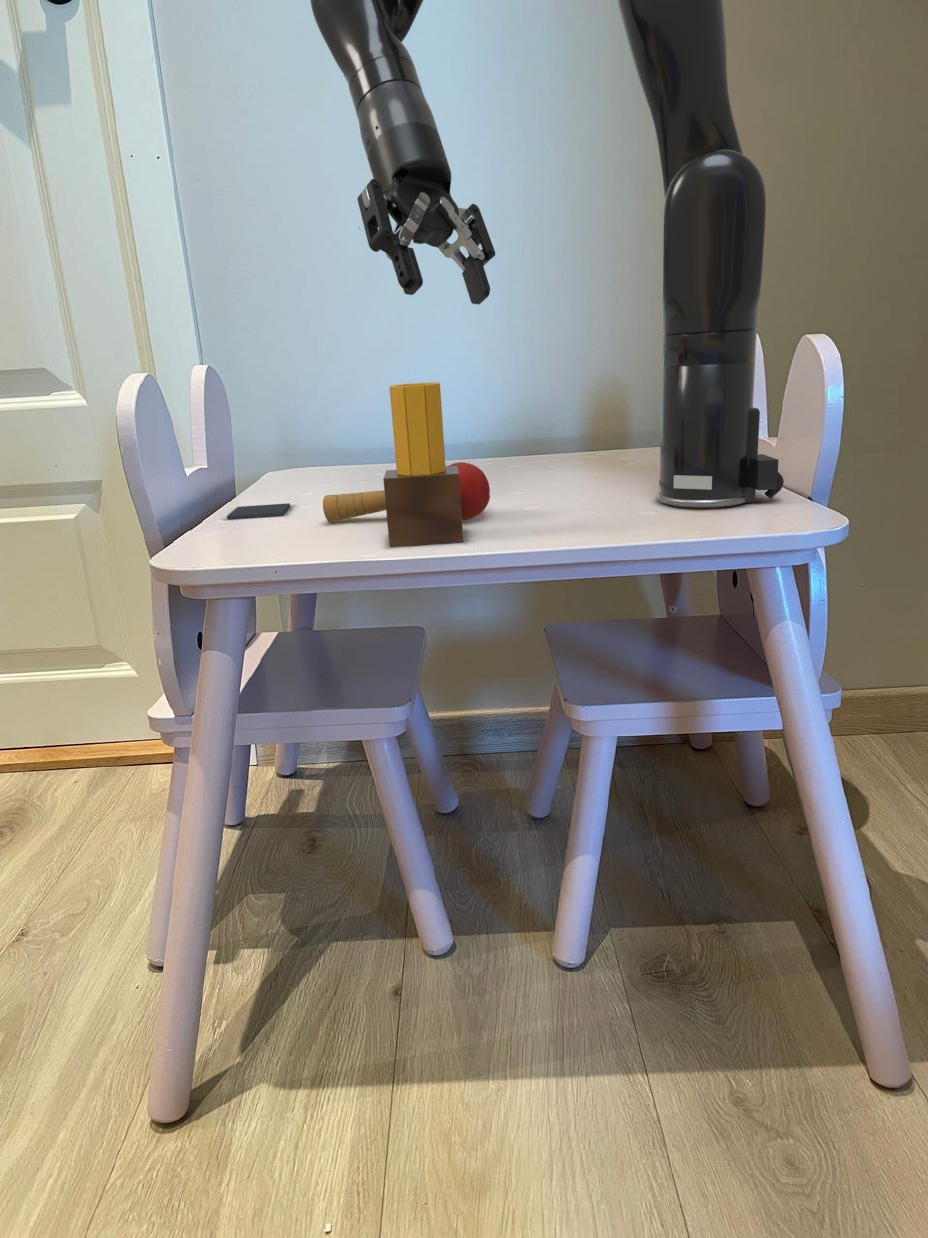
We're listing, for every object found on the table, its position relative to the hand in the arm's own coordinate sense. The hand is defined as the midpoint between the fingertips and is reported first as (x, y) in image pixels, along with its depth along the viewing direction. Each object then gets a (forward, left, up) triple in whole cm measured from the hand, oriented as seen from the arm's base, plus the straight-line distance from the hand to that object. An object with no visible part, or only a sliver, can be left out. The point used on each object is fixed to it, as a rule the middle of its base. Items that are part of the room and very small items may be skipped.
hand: (449, 295), depth 80 cm
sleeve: (+4, +7, -16) cm, 18 cm away
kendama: (+6, -1, -22) cm, 23 cm away
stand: (+4, +7, -22) cm, 24 cm away
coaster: (+24, -12, -22) cm, 35 cm away
